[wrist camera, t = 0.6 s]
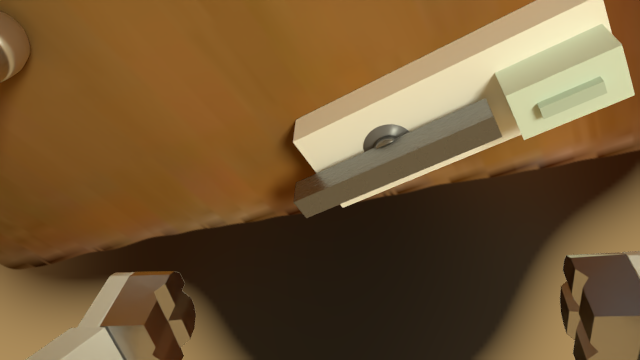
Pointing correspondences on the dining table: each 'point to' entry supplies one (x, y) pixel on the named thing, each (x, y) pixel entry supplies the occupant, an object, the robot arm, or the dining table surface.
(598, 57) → the cover
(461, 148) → the grey bar
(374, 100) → the housing
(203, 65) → the dining table surface
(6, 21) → the plastic bottle
